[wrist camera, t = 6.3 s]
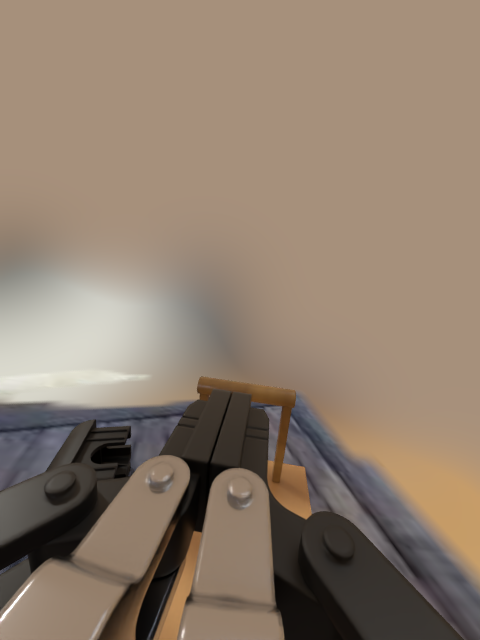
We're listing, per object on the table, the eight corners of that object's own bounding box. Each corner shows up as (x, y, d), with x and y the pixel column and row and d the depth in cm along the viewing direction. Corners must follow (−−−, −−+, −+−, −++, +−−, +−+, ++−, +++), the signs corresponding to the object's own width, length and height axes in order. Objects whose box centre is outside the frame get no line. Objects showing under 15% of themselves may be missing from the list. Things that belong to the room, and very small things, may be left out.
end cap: (71, 466, 31) (67, 419, 29) (132, 461, 32) (131, 416, 31) (20, 561, 21) (9, 499, 20) (109, 547, 23) (106, 489, 21)
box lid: (179, 450, 25) (182, 363, 23) (303, 473, 24) (320, 383, 22) (21, 766, 10) (-21, 591, 7) (360, 885, 8) (446, 717, 6)
